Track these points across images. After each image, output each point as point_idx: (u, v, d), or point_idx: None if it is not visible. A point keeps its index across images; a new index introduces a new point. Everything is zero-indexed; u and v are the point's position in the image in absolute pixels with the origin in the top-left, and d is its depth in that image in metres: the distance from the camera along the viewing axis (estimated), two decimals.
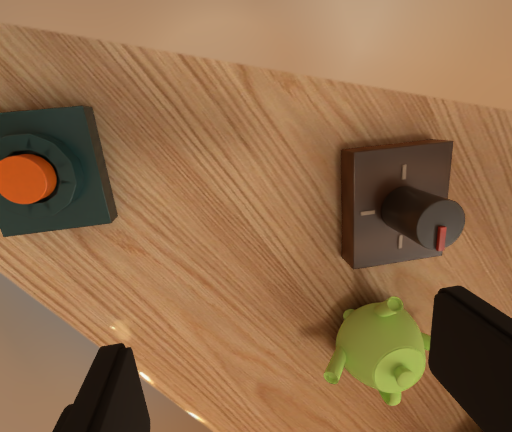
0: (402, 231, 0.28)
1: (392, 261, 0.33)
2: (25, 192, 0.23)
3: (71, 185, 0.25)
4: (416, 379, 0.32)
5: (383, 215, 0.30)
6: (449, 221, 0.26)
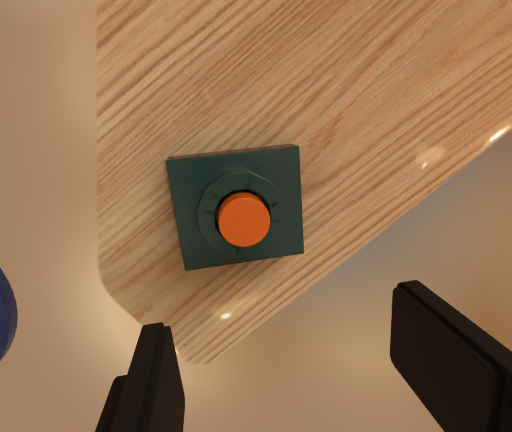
0: None
1: None
2: (257, 219, 0.22)
3: (252, 177, 0.22)
4: None
5: None
6: None
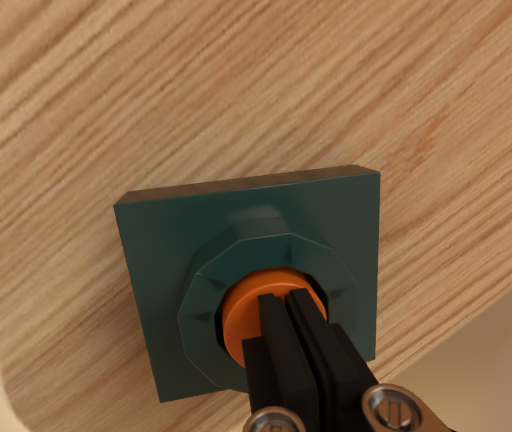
0: None
1: None
2: None
3: (295, 243, 0.10)
4: None
5: None
6: None
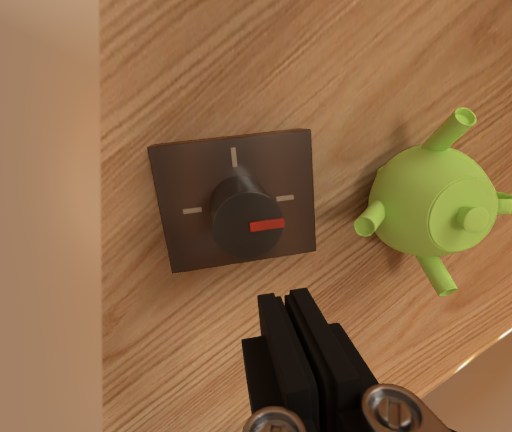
0: None
1: (311, 202, 0.25)
2: None
3: None
4: (486, 187, 0.22)
5: None
6: (243, 215, 0.19)
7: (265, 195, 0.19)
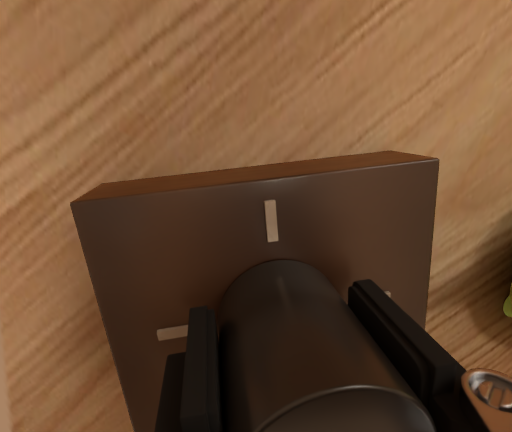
0: None
1: (422, 304, 0.12)
2: None
3: None
4: None
5: None
6: None
7: (398, 394, 0.06)
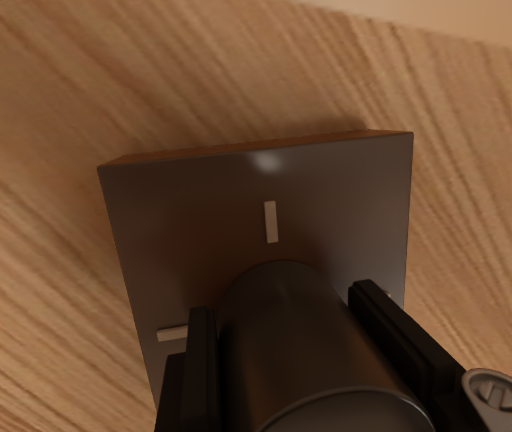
0: None
1: None
2: None
3: None
4: None
5: None
6: None
7: (397, 395, 0.06)
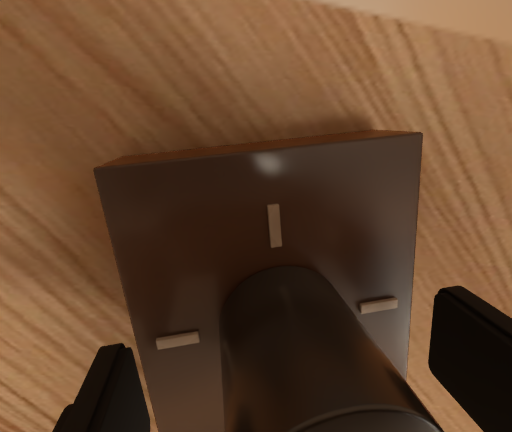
0: None
1: None
2: None
3: None
4: None
5: None
6: None
7: (407, 413, 0.05)
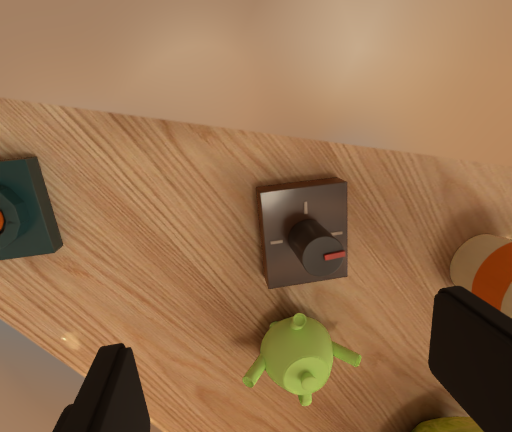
0: None
1: (303, 282, 0.38)
2: None
3: (15, 224, 0.30)
4: (322, 383, 0.38)
5: None
6: (320, 250, 0.31)
7: (333, 238, 0.31)
